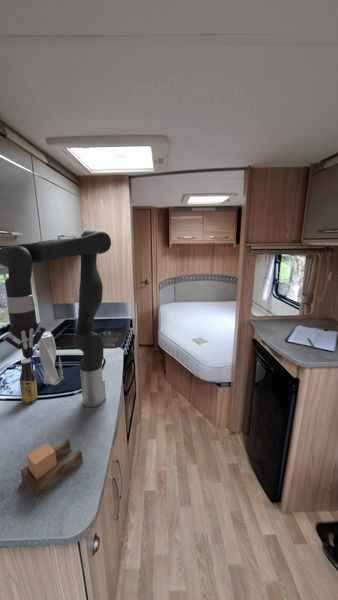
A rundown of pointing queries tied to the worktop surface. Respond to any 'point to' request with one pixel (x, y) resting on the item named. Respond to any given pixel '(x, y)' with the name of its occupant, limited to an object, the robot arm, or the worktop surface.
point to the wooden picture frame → (56, 473)
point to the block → (41, 461)
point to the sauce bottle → (28, 383)
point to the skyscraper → (49, 359)
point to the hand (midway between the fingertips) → (28, 357)
